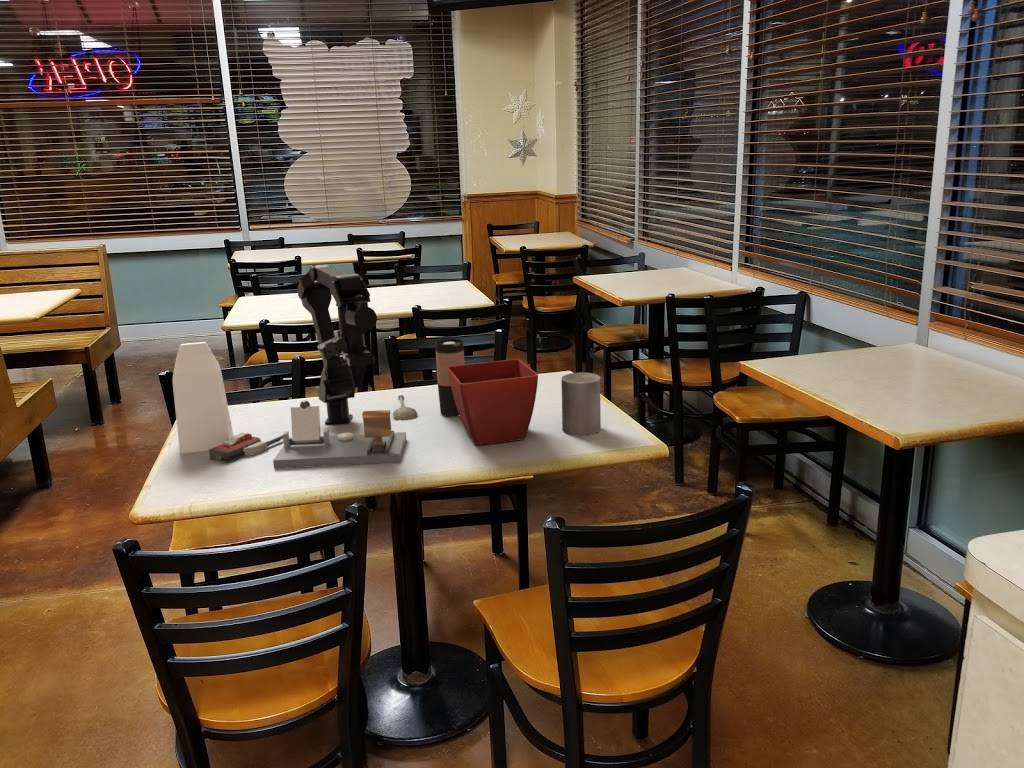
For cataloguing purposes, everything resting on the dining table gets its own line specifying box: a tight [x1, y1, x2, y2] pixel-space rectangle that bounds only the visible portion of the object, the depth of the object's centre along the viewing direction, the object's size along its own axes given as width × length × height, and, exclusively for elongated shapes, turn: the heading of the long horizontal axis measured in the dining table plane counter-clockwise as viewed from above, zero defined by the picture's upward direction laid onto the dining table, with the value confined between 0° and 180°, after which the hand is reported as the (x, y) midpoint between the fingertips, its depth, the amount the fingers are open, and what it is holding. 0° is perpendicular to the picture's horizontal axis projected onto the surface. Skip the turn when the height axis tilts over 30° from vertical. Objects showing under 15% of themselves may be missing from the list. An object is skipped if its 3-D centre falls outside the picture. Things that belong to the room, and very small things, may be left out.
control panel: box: [272, 428, 407, 469], centre depth 200 cm, size 16×29×6 cm, turn 92°
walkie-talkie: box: [208, 432, 283, 463], centre depth 205 cm, size 9×4×20 cm
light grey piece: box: [289, 400, 324, 445], centre depth 200 cm, size 2×8×11 cm, turn 92°
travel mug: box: [434, 338, 466, 418], centre depth 226 cm, size 8×8×20 cm
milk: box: [172, 341, 234, 454], centre depth 209 cm, size 12×12×26 cm
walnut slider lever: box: [361, 409, 392, 452], centre depth 194 cm, size 4×6×9 cm, turn 92°
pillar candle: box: [560, 372, 602, 437], centre depth 208 cm, size 10×10×15 cm
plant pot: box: [447, 358, 539, 446], centre depth 206 cm, size 19×19×17 cm
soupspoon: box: [392, 394, 418, 422], centre depth 234 cm, size 22×3×7 cm
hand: (357, 387), depth 209 cm, fingers closed
